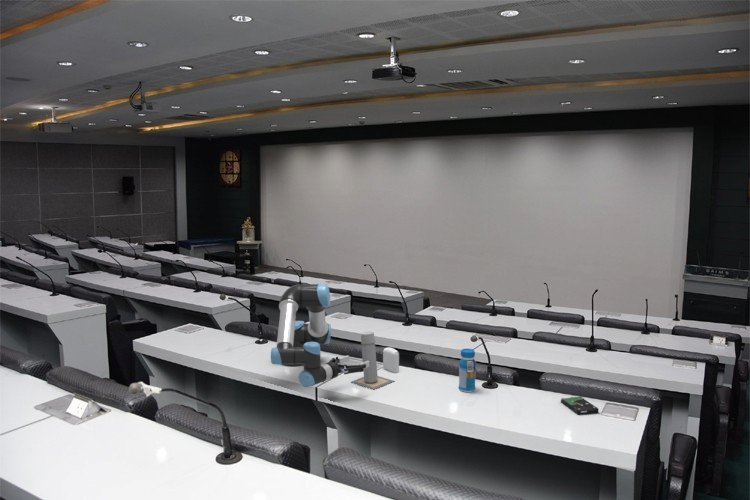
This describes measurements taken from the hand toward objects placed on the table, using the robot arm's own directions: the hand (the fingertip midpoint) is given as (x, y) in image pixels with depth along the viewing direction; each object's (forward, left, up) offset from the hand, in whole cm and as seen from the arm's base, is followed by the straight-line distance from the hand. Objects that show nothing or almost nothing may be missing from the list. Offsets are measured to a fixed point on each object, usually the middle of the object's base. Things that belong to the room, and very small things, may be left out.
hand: (358, 360), depth 273 cm
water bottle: (0, +11, -13) cm, 17 cm away
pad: (0, +11, -14) cm, 18 cm away
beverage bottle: (+42, +34, -14) cm, 56 cm away
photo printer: (-5, +32, -14) cm, 35 cm away
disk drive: (+93, +48, -15) cm, 105 cm away
